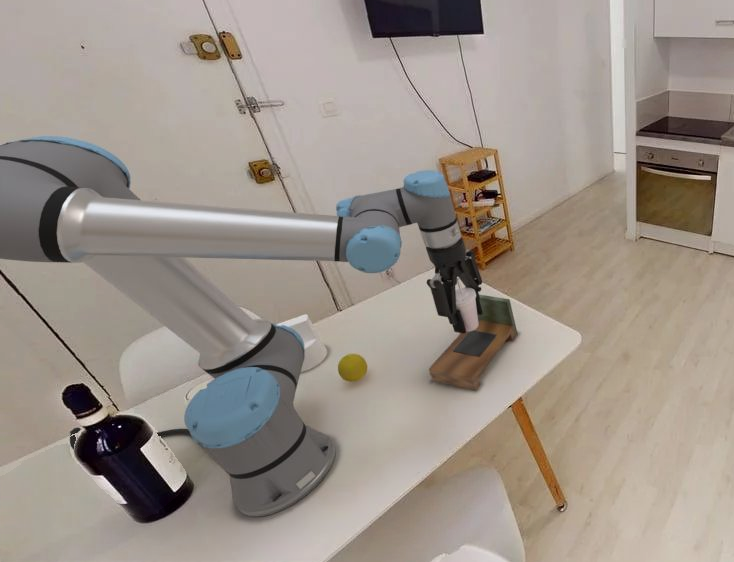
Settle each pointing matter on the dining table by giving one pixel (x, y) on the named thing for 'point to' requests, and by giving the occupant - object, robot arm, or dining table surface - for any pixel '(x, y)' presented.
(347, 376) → the lemon
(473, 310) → the smoothie
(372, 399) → the dining table surface
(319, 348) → the base with upright slab
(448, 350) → the wooden board with backrest
